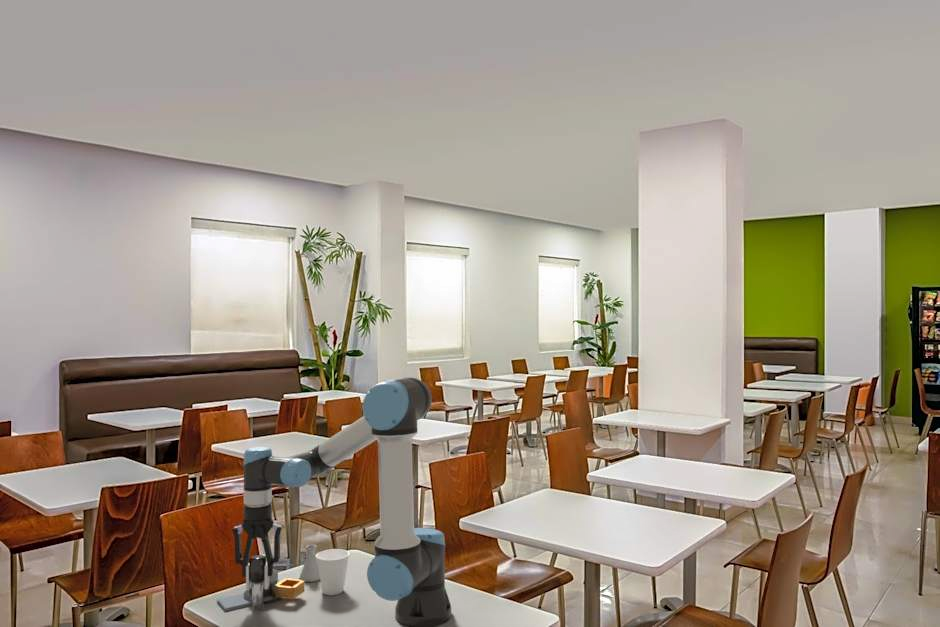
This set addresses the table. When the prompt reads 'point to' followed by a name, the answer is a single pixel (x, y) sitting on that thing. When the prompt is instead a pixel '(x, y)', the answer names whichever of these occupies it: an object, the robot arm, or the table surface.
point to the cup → (332, 570)
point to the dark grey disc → (266, 598)
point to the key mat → (233, 602)
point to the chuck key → (257, 580)
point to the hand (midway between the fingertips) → (257, 587)
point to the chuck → (282, 586)
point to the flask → (310, 566)
